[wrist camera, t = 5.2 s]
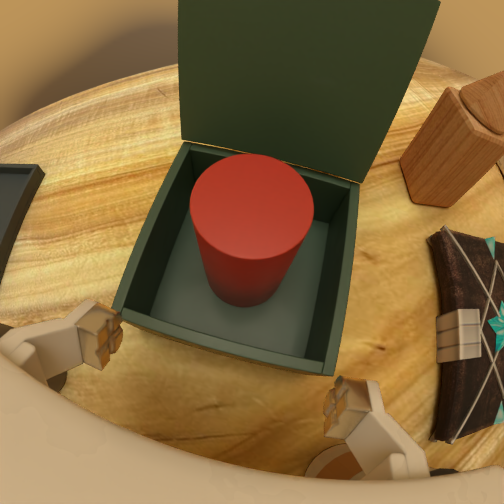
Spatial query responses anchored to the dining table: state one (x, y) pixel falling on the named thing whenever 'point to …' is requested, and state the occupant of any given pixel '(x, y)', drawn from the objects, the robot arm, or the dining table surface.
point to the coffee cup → (346, 465)
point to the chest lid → (298, 76)
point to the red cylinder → (249, 225)
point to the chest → (232, 317)
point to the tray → (15, 202)
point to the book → (469, 333)
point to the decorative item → (456, 143)
